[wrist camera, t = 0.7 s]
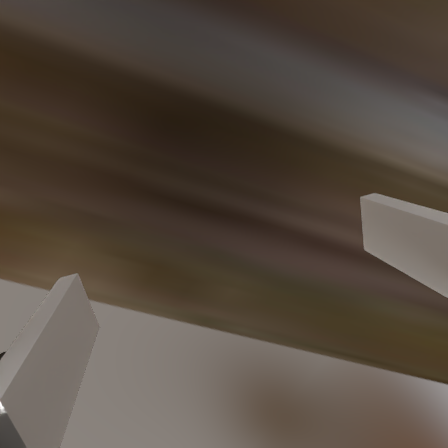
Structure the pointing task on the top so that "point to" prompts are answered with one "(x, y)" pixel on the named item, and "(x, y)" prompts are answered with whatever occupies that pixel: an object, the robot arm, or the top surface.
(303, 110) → the top surface
